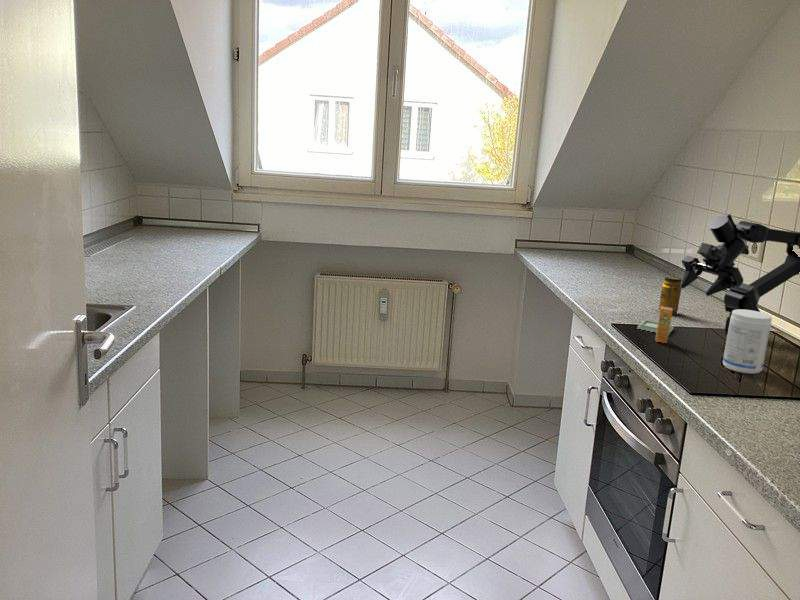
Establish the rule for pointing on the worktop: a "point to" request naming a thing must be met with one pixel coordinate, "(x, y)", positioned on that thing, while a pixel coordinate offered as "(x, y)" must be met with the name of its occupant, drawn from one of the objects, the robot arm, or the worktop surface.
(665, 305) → the condiment
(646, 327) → the plate
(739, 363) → the supplement tub
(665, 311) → the supplement box
